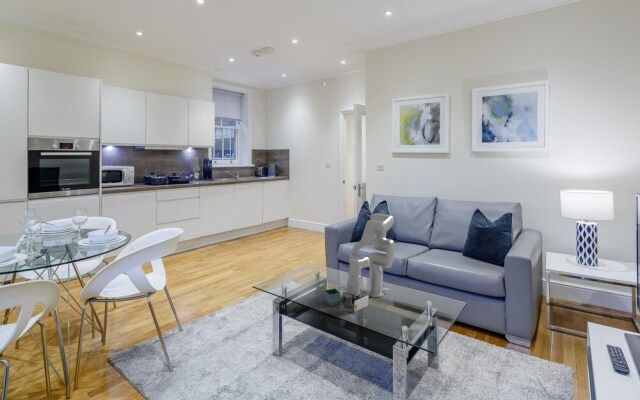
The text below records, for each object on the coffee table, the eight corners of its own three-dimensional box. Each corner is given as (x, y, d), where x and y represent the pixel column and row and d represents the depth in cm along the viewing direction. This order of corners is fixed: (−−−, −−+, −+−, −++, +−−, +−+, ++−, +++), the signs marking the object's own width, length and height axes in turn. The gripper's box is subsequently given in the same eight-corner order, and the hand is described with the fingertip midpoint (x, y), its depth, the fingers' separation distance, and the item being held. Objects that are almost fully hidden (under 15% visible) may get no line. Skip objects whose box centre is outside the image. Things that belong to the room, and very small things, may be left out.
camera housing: (363, 299, 247) (364, 289, 246) (368, 305, 239) (368, 294, 237) (340, 301, 243) (341, 291, 242) (344, 307, 235) (344, 297, 233)
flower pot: (323, 302, 242) (323, 290, 241) (335, 300, 246) (335, 288, 244) (328, 307, 234) (329, 295, 233) (340, 305, 238) (340, 293, 236)
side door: (367, 305, 238) (367, 295, 237) (369, 306, 237) (369, 296, 236) (354, 311, 229) (354, 301, 228) (356, 312, 228) (356, 302, 227)
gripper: (342, 275, 232) (342, 301, 235) (360, 281, 221) (359, 308, 224) (350, 272, 237) (349, 298, 240) (367, 278, 226) (366, 305, 229)
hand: (354, 303), depth 232 cm, fingers closed
